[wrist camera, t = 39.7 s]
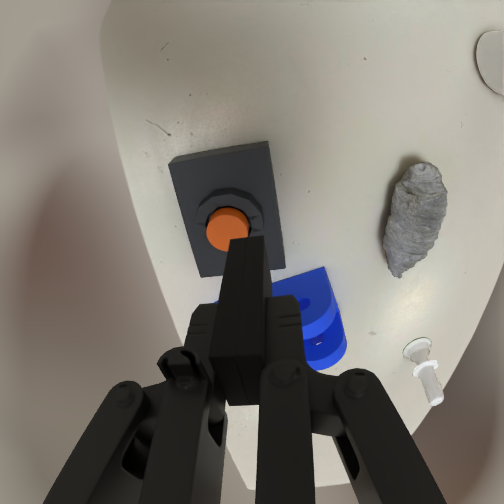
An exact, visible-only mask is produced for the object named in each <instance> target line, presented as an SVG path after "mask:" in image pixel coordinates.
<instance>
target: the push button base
mask: <svg viewBox="0 0 504 504" xmlns="http://www.w3.org/2000/svg"><path fill="white" fill-rule="evenodd" d="M168 166H169V170H170V173H171V177H172V181H173V185H174V188H175V192H176V196H177V199H178V203H179V206H180V210H181V213H182V217H183V220H184V224H185V227H186V231H187V234H188V238H189V241H190V244H191V248H192V251H193V254H194V258H195V261H196V264H197V267H198V270H199V274H200V277H201V278H203V277H213V276H222V275H223V273H224V268H225V263H226V258H227V253H228V251H222V250H219V249H217V248H215V247H214V246H213V245H212V244H211V243H210V242H209V240H208V238H207V234H206V230H207V226H208V223H209V220H210V218H211V216H212V214H213V213H214V212H215V211H217V210H219V209H221V208H227V207H229V208H235V209H237V210H239V211H241V212H242V213H243V214H244V215H245V216H246V218H247V220H248V223H249V230H248V237H252V236H260V235H264V238H265V244H266V250H267V256H268V262H269V268H270V270H276V269H285V268H286V266H285V254H284V247H283V239H282V232H281V225H280V218H279V210H278V203H277V196H276V190H275V183H274V176H273V169H272V163H271V156H270V150H269V144H268V141H264V142H257V143H251V144H244V145H238V146H231V147H226V148H220V149H214V150H209V151H203V152H198V153H193V154H188V155H183V156H178V157H175V158H174V159H173V160H172V161H171V162H170V163H169V164H168Z"/></svg>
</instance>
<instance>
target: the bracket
mask: <svg viewBox="0 0 504 504" xmlns="http://www.w3.org/2000/svg"><path fill="white" fill-rule="evenodd" d="M292 294H293V295H294V297H295V298H296V299H297V301H298V302H299V303H300V312H301V321H302V331H303V340H304V350H305V358H306V361H307V363H308V364H309V366H310V367H311V368H312V369H314V370H323V369H326V368H329V367H331V366H333V365H334V364H336V363H337V362H338V361H339V360H340V359H341V358H342V357H343V355H344V353H345V351H346V348H347V341H346V336H345V332H344V328H343V324H342V319H341V315H340V311H339V308H338V305H337V302H336V299H335V296H334V293H333V291H332V288H331V285H330V282H329V279H328V276H327V273H326V270H325V268H324V267H321V268H318V269H315V270H312V271H309V272H306V273H303V274H300V275H297V276H294V277H291V278H287V279H284V280H281V281H278V282H275V283H272V297H274V296H283V295H292ZM215 303H218V301H217V302H215ZM320 342H322V343H320ZM317 343H320V344H318V345H316V344H317Z"/></svg>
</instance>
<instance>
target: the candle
mask: <svg viewBox="0 0 504 504" xmlns="http://www.w3.org/2000/svg"><path fill="white" fill-rule="evenodd" d="M430 347H431V341H430V340H429V339H427V338H420V339H417V340H414V341H413V342H411V343H410V344H408V345H407V346H406V348H405V349H404V352H403V355H404V357H405V358H407V359H410V360H411V361H412V362H415V363H416V364H417V365H418V366H417V367H416V368H415V369H414V370H413V373H412V375H413V376H414V377H416V378H421V381H422V384H423V387H424V390H425V393H426V396H427V399H428V401H429V404H430V405H431V406H436V405H437V404H440V403H441V402H442V401H443V399H444V395H443V391H442V386H441V384H440V382H438V380H437V377H436V374H435V372H434V371H435V369H436V368H437V366H438V362H437V361H436V360H428V355H429V352H430Z"/></svg>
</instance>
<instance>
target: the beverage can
mask: <svg viewBox="0 0 504 504" xmlns="http://www.w3.org/2000/svg"><path fill="white" fill-rule="evenodd" d="M476 58H477V64H478V68H479V71H480V73H481V76H482V77H483V79H484V81H485V82H486V84H487V85H488V86H489V87H490V88H491V89H492V90H493V91H495V92H496V93H498V94H501V95H504V31H488V32H486V33H485V34H483V35H482V36H481V38H480V39H479V42H478V44H477V50H476Z"/></svg>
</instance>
